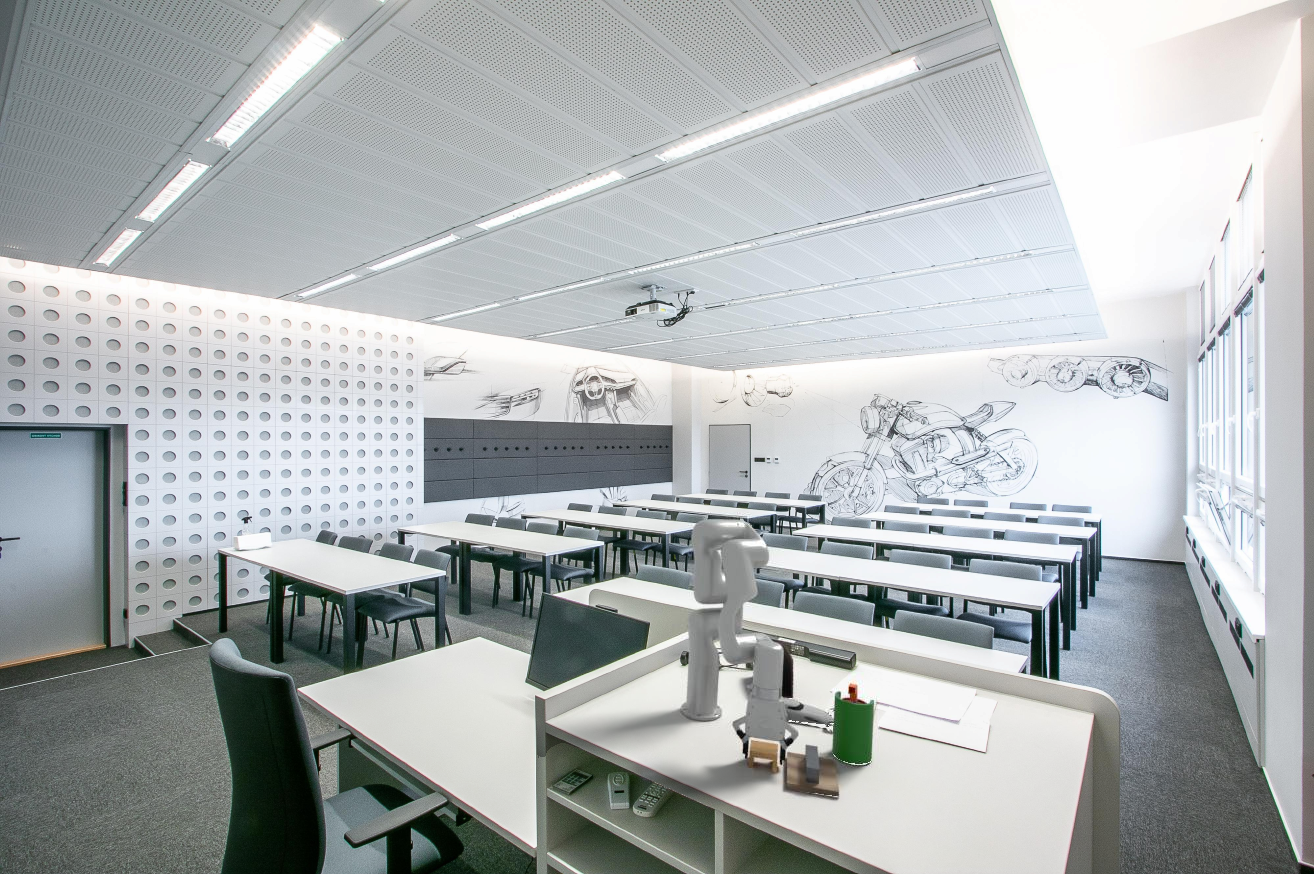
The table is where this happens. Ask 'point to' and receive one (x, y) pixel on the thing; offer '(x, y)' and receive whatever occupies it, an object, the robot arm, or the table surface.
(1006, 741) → the table surface
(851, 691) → the motor
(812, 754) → the rail
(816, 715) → the car model
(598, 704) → the table surface
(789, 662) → the letter holder
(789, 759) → the rail base
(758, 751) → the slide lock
